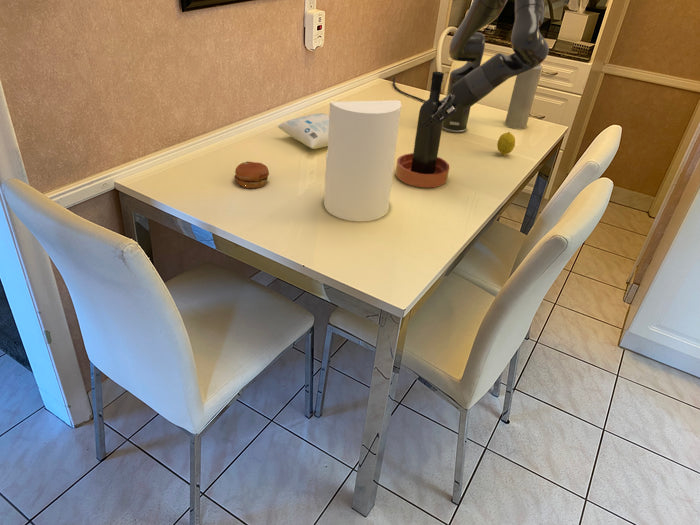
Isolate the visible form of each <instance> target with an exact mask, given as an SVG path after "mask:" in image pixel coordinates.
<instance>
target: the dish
mask: <svg viewBox="0 0 700 525" xmlns="http://www.w3.org/2000/svg"><path fill="white" fill-rule="evenodd" d="M412 159H413V152H410V153H404V154H402V155H400V156H399V157H398V158H397V159H396V166H395V176H396V178H397V179H398V180H399V181H401V182H403V183H405V184H407V185H410V186H413V187H418V188H436V187H440V186H442V185H444V184H446V183H447V181H448V178H449V172H450V164H449V163H448V161H446V160H445V159H443V158H442V157H439V156H437V161H436V167H435V172H434V174H422V173H417V172H412V171H411V166H412Z"/></svg>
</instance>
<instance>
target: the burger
mask: <svg viewBox="0 0 700 525" xmlns="http://www.w3.org/2000/svg"><path fill="white" fill-rule="evenodd" d="M234 173H235V175H233V176H234V180H235V182H236V183H237V184H238V185H239V186H241V187H242V188H247V189H257V188H262V187H264V186H265V185H266V184H267V182H268V178H269V176H270V172H269V169H268V167H267V165H265V164H264V163H262V162H255V161H245V162H244V161H243V162H240V163H239V164H238V165H237V166H236V167H235V171H234ZM245 185H246V186H245Z"/></svg>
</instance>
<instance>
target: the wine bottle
mask: <svg viewBox="0 0 700 525" xmlns="http://www.w3.org/2000/svg"><path fill="white" fill-rule="evenodd" d="M444 75H445V74H444V72H442V71H433V72H432V77H431V85H430V91H429V98H427V99H426V101H425V102H424V101H423V103H422V104H421V106H420V108H419V111H418V118H417V125H416V130H415V138H414V146H413V152H412V153H413V159H412V166H411V171H412V172H417V173H422V174H434V172H435V167H436V161H437V157H438V154H439V150H440V143H441V137H442V133H443V132H442V131H443V129H442V126H443V121H442V122H441V123H440V124H434V125H433V126H431V127H430V128H429V129H427V130H424V129H423V128H422V126H421V123H423V122H424V121H425V120H427V119H428V118H429V117H431V116H432V115H433V114H434V113H435V112H436V111H437V110H436V109H437V108H438V107H439V106H440V105H441V104H442V103H441V102H440V98H441V97H440V96H441V90H442V86H443V85H442V84H443V82H444V81H443V80H444ZM440 117H441V116H440V115H438V118H440Z"/></svg>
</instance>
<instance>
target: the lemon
mask: <svg viewBox="0 0 700 525" xmlns="http://www.w3.org/2000/svg"><path fill="white" fill-rule="evenodd" d="M515 145H516V138H515V135H514V134H512V133H511V132H510V131H508V132H505V133H504V132H503V133H502V134H501V135H500V136H499V138H498V140H497V144H496V146H497V147H496V148H497V150H498V152H499V153H500V154H501V155H502V156H505V155H508V154H510V153H512V151H514V149H515Z"/></svg>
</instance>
